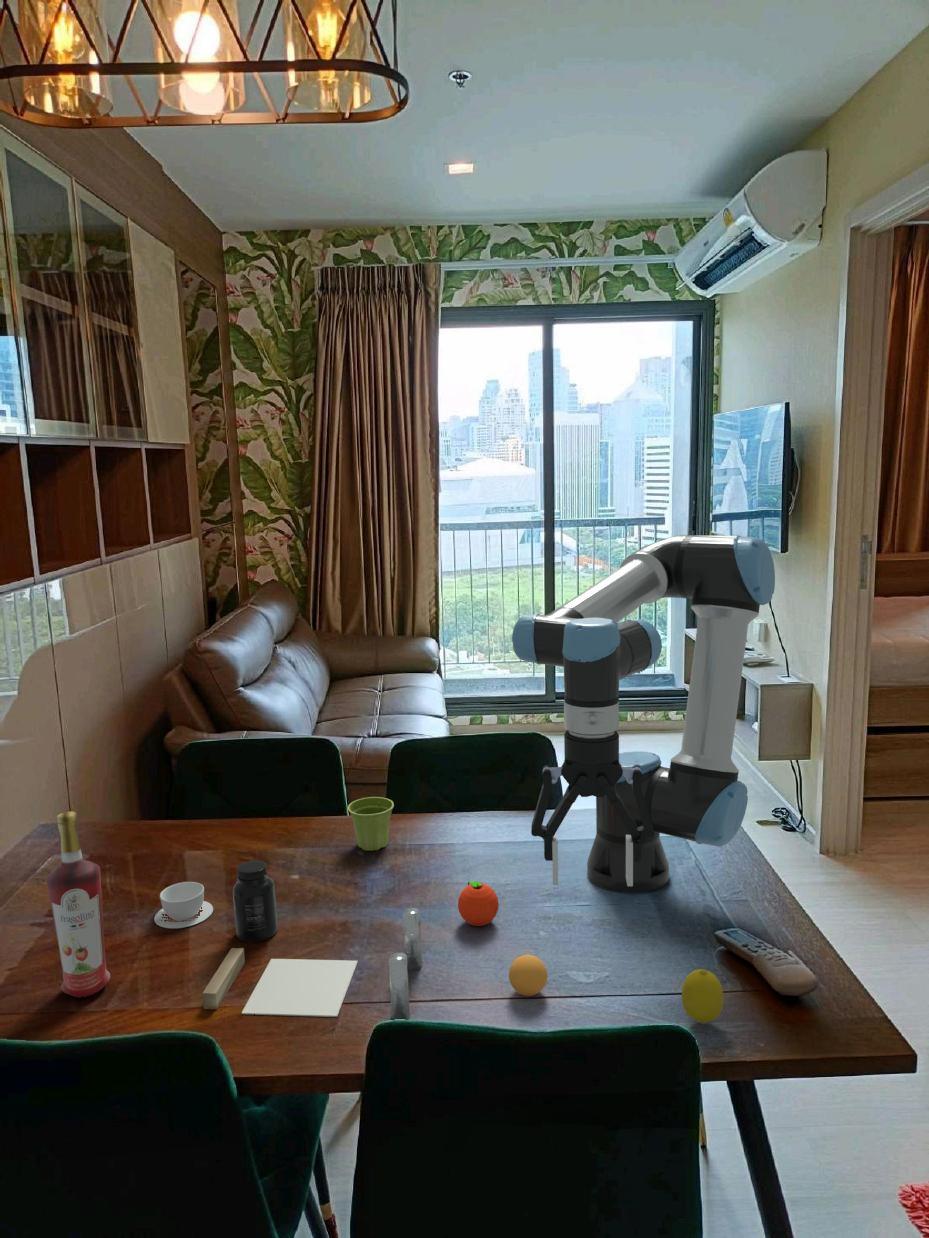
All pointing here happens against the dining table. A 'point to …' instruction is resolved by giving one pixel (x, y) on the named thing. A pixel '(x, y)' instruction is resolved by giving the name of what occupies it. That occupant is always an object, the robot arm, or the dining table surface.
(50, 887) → the liquor
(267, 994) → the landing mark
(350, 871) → the dining table surface
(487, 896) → the clementine
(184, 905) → the teacup
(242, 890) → the supplement bottle
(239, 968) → the wall
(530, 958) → the ball
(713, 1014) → the lemon
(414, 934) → the post
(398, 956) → the post
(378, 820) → the plant pot
